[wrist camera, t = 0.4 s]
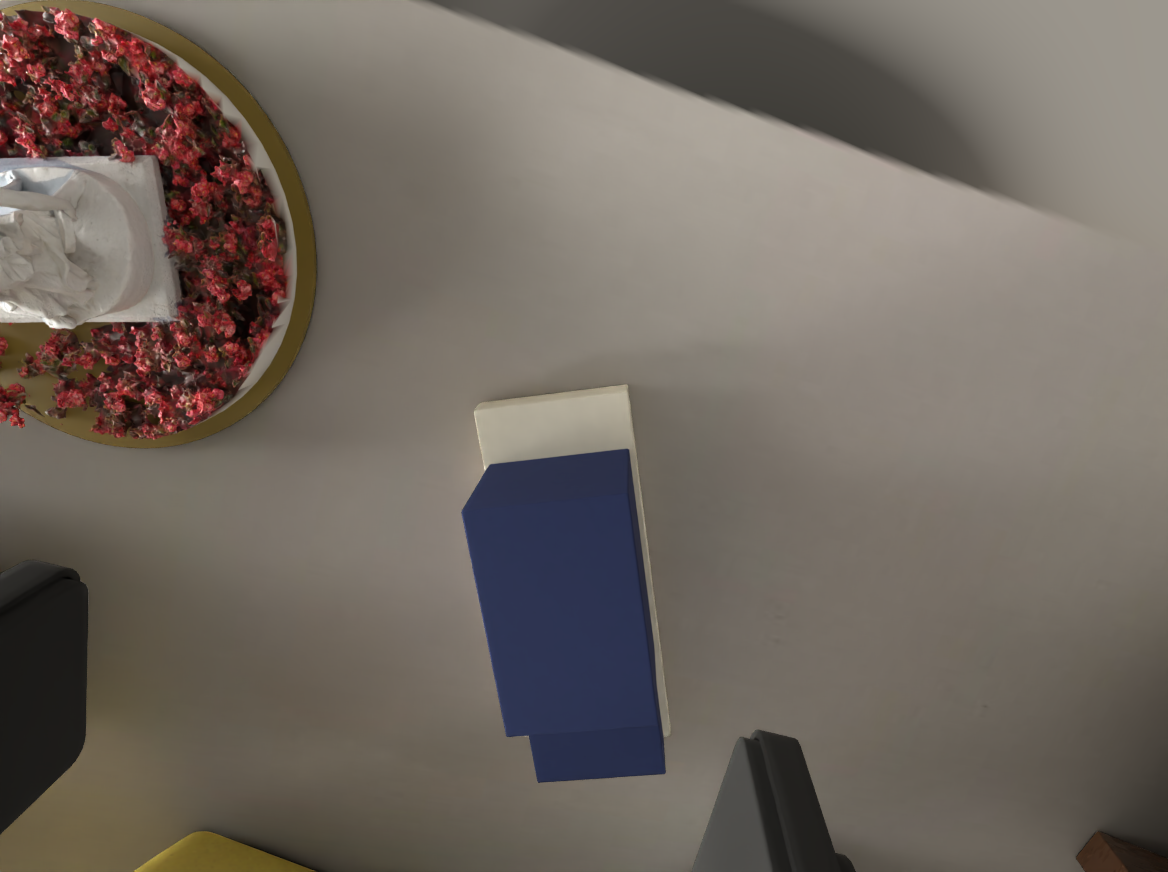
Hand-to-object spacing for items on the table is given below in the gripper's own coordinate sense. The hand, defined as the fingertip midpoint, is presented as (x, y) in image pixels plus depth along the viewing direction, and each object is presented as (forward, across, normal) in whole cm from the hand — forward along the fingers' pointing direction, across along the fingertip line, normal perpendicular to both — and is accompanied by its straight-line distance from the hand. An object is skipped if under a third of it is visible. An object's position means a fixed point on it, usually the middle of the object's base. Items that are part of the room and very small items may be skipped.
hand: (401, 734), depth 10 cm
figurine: (+17, +16, -3) cm, 24 cm away
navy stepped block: (+17, -3, +5) cm, 18 cm away
